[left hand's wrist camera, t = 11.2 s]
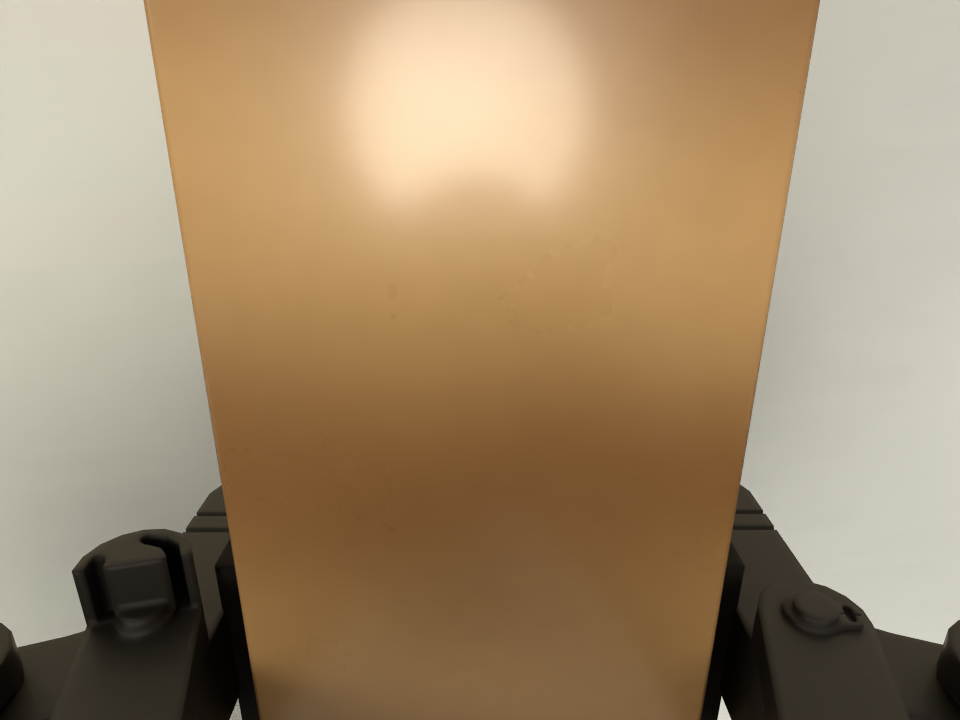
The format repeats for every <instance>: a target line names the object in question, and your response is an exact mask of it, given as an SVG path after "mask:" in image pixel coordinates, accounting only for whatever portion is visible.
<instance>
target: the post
mask: <svg viewBox="0 0 960 720" xmlns="http://www.w3.org/2000/svg"><path fill="white" fill-rule="evenodd" d="M819 3H820V0H144V5H145V12H146V18H147V24H148V30H149V36H150V43H151V49H152V55H153V61H154V67H155V74H156V80H157V86H158V92H159V98H160V105H161V111H162V117H163V123H164V129H165V136H166V142H167V148H168V154H169V161H170V167H171V173H172V179H173V185H174V192H175V198H176V204H177V210H178V216H179V223H180V229H181V235H182V241H183V247H184V254H185V260H186V266H187V272H188V278H189V285H190V291H191V297H192V303H193V310H194V316H195V322H196V328H197V334H198V341H199V347H200V353H201V359H202V365H203V372H204V378H205V384H206V390H207V396H208V403H209V409H210V415H211V421H212V427H213V434H214V440H215V446H216V452H217V459H218V465H219V471H220V477H221V483H222V490H223V496H224V502H225V508H226V514H227V521H228V527H229V533H230V539H231V545H232V552H233V558H234V564H235V570H236V576H237V583H238V589H239V595H240V601H241V608H242V614H243V620H244V626H245V632H246V639H247V645H248V651H249V657H250V663H251V670H252V676H253V682H254V688H255V694H256V701H257V707H258V713H259V719H260V720H701V716H702V710H703V704H704V698H705V692H706V686H707V680H708V674H709V668H710V662H711V656H712V649H713V643H714V637H715V631H716V625H717V619H718V613H719V607H720V601H721V595H722V589H723V583H724V577H725V571H726V565H727V559H728V553H729V547H730V541H731V535H732V529H733V523H734V517H735V511H736V505H737V499H738V492H739V486H740V480H741V474H742V468H743V462H744V456H745V450H746V444H747V438H748V432H749V426H750V420H751V414H752V408H753V402H754V396H755V390H756V384H757V378H758V372H759V366H760V360H761V354H762V348H763V342H764V335H765V329H766V323H767V317H768V311H769V305H770V299H771V293H772V287H773V281H774V275H775V269H776V263H777V257H778V251H779V245H780V239H781V233H782V227H783V221H784V215H785V209H786V203H787V197H788V191H789V185H790V178H791V172H792V166H793V160H794V154H795V148H796V142H797V136H798V130H799V124H800V118H801V112H802V106H803V100H804V94H805V88H806V82H807V76H808V70H809V64H810V58H811V52H812V46H813V40H814V34H815V28H816V21H817V15H818V9H819Z"/></svg>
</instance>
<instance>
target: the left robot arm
mask: <svg viewBox="0 0 960 720" xmlns="http://www.w3.org/2000/svg"><path fill="white" fill-rule="evenodd" d="M72 574H73V577H74V581H75V584H76V588H77V592H78V595H79V599H80V602H81V606H82V609H83V613H84V617H85V620H86V624H87V628H86V630H85V631H83V632H80V633H77V634H73V635H70V636H66V637H62V638H57V639H53V640H49V641H44V642H40V643H35V644H31V645H27V646H22V647H18V648H17V646H16V643H15V640H14V637H13V634H12V632H11V631H10V630H9V629H8V628H7V627H5V626H4V625H3V624H2V623H0V720H229V719H230V717H231V714H232V712H233V709H234V707H235V704H236V702H237V699H239V704H240V710H241V715H242V720H260V719H259V713H258V707H257V701H256V694H255V688H254V682H253V676H252V670H251V663H250V657H249V651H248V645H247V639H246V632H245V626H244V620H243V614H242V608H241V601H240V595H239V589H238V583H237V576H236V570H235V564H234V558H233V552H232V545H231V539H230V533H229V527H228V521H227V514H226V508H225V502H224V496H223V490H222V485H221V486H220V487H219V488H217V489H216V490H214V491H213V492H211V493H210V494H209V496H208V497H207V499H206V500H205V502H204V503H203V504H202V506H201V507H200V509H199V510H198V512H197V516H194V518H193V519H192V520H191V522H190V523H189V525H188V526H187V528H186V532H183V534H181V533H178V532H174V531H170V530H166V529H154V530H142V531H137V532H133V533H129V534H125V535H121V536H119V537H117V538H114V539H112V540H110V541H108V542H105V543H103V544H101V545H99V546H98V547H96V548H95V549H94V550H92V551H91V552H89V553H88V554H87V555H85V556H84V557H83V558H82V559H81V560H80V561H79V563H78V564H77V565H76V567H75V568H74V569H73V570H72ZM721 696H722V698H723V700H724V702H725V705H726V707H727V710H728V712H729V715H730V717H731V720H960V620H958V621H957V622H956V623H955V624H954V625H953V626H951V627H950V628H949V629H948V632H947V635H946V638H945V641H944V644H943V645H941V644H937V643H932V642H928V641H923V640H919V639H915V638H910V637H906V636H901V635H897V634H893V633H889V632H886V631H882V630H879V629H876V628H874V626H873V624H872V623H871V621H870V620H869V618H868V617H867V615H866V614H865V612H864V611H863V610H862V609H861V608H860V607H858V606H857V605H856V604H855V603H854V602H852V601H851V600H850V599H849V598H847V597H846V596H844V595H842V594H840V593H838V592H836V591H834V590H832V589H830V588H828V587H826V586H822V585H819V584H815V583H813V582H812V581H811V579H810V578H809V576H808V575H807V573H806V572H805V570H804V569H803V568H802V566H801V565H800V563H799V562H798V560H797V559H796V557H795V556H794V555H793V553H792V552H791V550H790V549H789V547H788V546H787V544H786V543H785V542H784V540H783V539H782V537H781V536H780V534H779V533H778V532H777V530H774V526H773V524H772V523H771V521H770V520H769V519H768V517H767V516H766V514H763V510H762V508H761V507H760V506H759V504H758V503H757V501H756V500H755V498H754V497H753V495H752V494H751V493H750V491H748V490H747V489H746V488H744V487H743V486H741V485H740V486H739V492H738V499H737V505H736V511H735V517H734V523H733V529H732V535H731V541H730V547H729V553H728V559H727V565H726V571H725V577H724V583H723V589H722V595H721V601H720V607H719V613H718V619H717V625H716V631H715V637H714V643H713V649H712V656H711V662H710V668H709V674H708V680H707V686H706V692H705V698H704V704H703V710H702V716H701V720H717V718H718V713H719V707H720V701H721Z"/></svg>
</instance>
